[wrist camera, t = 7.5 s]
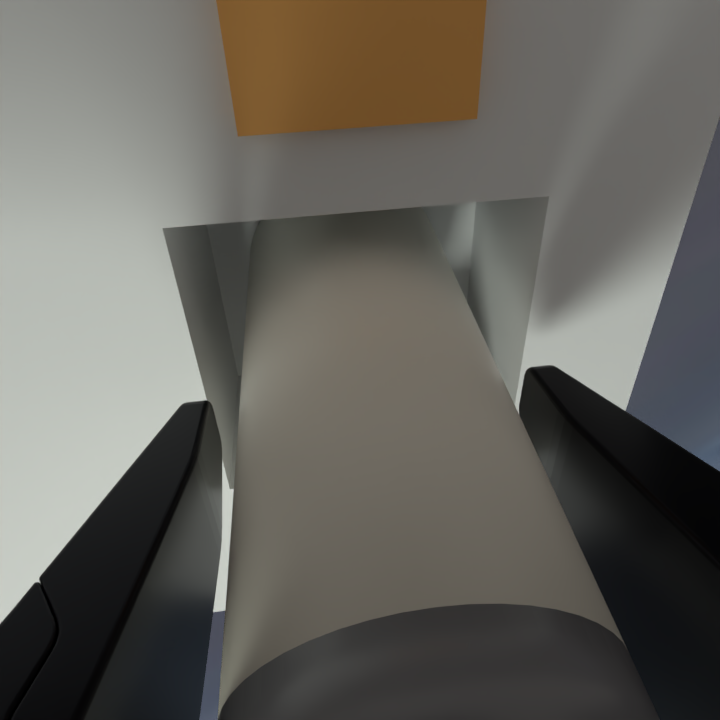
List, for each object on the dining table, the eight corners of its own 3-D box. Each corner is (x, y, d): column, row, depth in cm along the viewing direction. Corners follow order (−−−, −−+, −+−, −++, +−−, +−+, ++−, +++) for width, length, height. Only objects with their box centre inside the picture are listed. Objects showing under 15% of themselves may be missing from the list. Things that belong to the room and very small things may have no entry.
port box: (-172, 512, 17) (-299, 689, 13) (-754, -119, 8) (-1592, -131, 5) (517, 436, 18) (580, 577, 15) (624, -176, 10) (846, -219, 6)
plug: (263, 346, 14) (248, 925, 6) (235, 179, 12) (151, 798, 4) (432, 330, 14) (622, 867, 6) (440, 164, 12) (766, 710, 4)
